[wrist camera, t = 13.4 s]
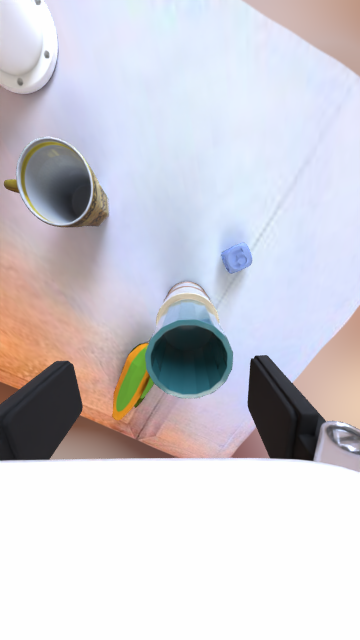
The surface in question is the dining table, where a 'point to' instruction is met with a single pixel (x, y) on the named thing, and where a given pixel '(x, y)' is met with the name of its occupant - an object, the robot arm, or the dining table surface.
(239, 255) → the decorative dice
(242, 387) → the dining table surface
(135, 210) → the dining table surface
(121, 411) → the corn
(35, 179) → the ceramic cup
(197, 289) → the cup stack
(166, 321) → the teal cup
